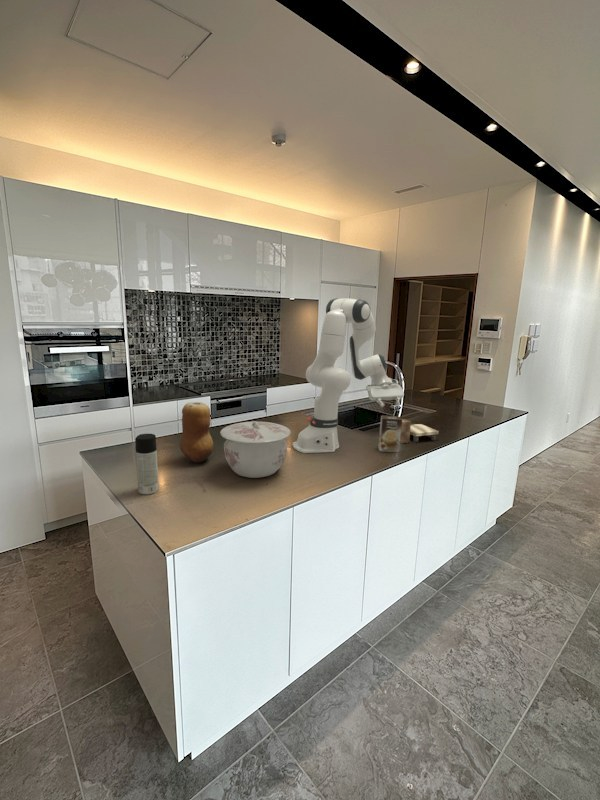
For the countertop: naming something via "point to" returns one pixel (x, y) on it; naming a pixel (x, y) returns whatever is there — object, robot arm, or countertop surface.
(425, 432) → the peg shelf
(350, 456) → the countertop surface
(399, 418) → the coffee box
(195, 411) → the butternut squash
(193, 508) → the countertop surface
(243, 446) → the chamber pot
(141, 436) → the spray can
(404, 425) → the walnut block
